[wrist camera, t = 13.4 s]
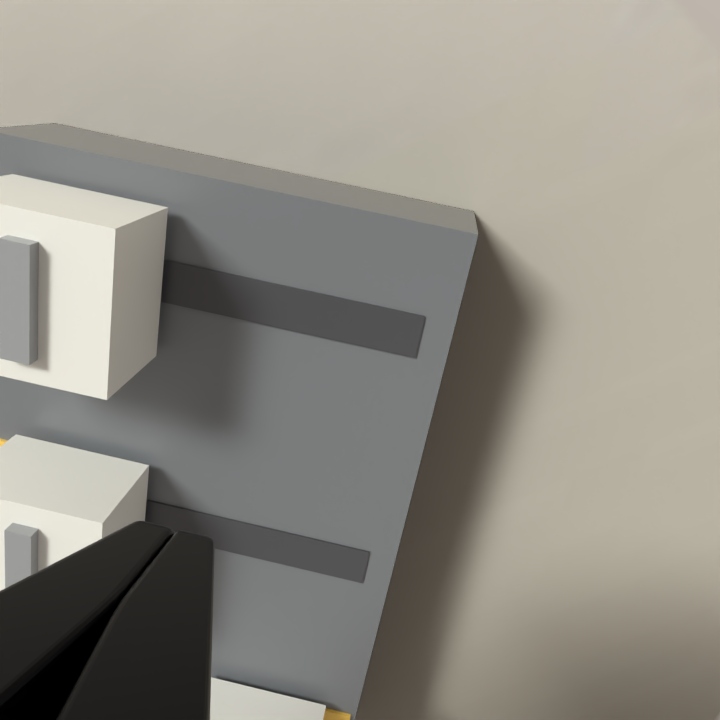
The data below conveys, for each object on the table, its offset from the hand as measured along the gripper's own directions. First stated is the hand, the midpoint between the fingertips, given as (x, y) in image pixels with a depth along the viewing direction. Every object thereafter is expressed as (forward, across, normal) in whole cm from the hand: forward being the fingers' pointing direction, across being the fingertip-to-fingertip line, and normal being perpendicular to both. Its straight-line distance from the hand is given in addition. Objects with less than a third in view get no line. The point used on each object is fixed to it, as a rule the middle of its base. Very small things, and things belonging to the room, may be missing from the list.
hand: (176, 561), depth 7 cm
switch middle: (+8, +5, +7) cm, 12 cm away
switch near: (+9, +5, 0) cm, 10 cm away
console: (+12, +2, +7) cm, 14 cm away
